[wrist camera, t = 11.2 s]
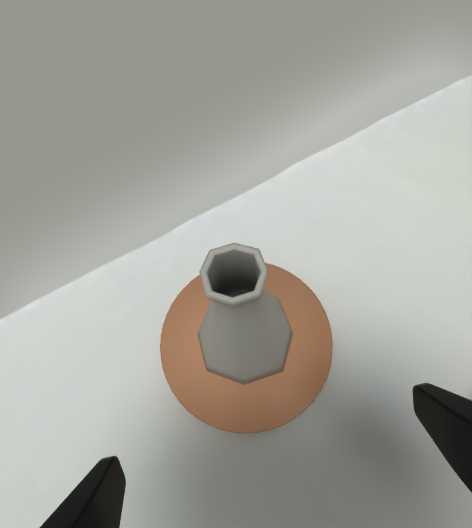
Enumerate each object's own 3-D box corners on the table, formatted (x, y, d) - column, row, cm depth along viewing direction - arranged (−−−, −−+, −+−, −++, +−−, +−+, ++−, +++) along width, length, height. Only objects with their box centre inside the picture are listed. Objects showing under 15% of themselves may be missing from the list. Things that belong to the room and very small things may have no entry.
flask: (193, 384, 20) (142, 350, 12) (201, 291, 24) (168, 213, 15) (296, 386, 20) (323, 351, 11) (289, 290, 23) (305, 208, 15)
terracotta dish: (337, 282, 24) (340, 277, 24) (318, 459, 18) (320, 461, 17) (195, 255, 27) (193, 249, 26) (137, 402, 21) (131, 401, 20)
